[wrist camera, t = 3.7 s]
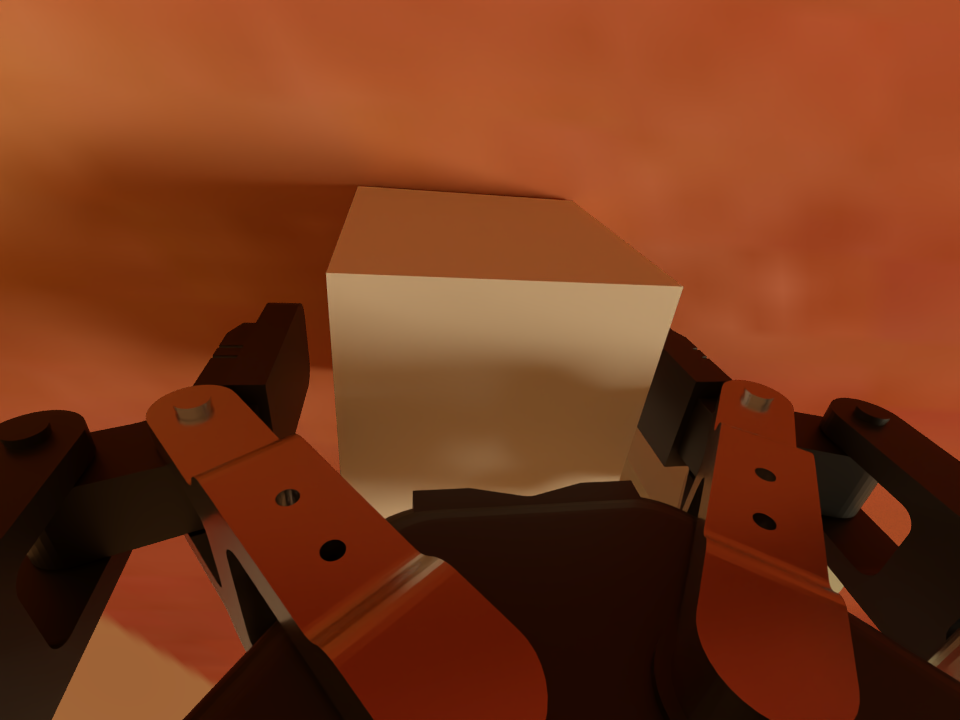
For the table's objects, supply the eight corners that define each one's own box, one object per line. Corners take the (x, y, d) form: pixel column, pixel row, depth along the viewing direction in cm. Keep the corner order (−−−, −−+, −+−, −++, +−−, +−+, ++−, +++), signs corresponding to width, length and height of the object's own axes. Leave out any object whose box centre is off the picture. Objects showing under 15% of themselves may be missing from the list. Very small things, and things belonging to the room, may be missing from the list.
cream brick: (358, 185, 12) (325, 272, 7) (572, 200, 13) (683, 286, 8) (364, 374, 15) (344, 535, 10) (539, 375, 16) (605, 522, 11)
